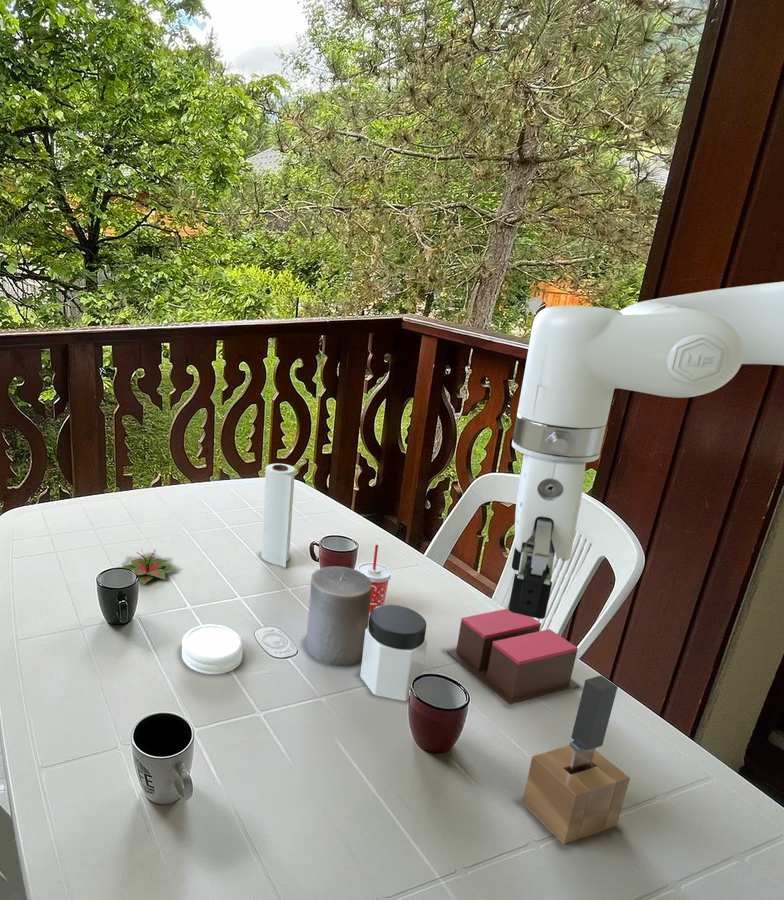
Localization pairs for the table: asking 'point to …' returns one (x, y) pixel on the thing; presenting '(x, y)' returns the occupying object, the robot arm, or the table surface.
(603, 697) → the knife
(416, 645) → the jar
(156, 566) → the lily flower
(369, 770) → the table surface
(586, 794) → the knife block
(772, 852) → the table surface
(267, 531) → the paper towel roll
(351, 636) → the pillar candle
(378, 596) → the beverage cup
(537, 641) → the cake
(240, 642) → the coaster
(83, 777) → the table surface
